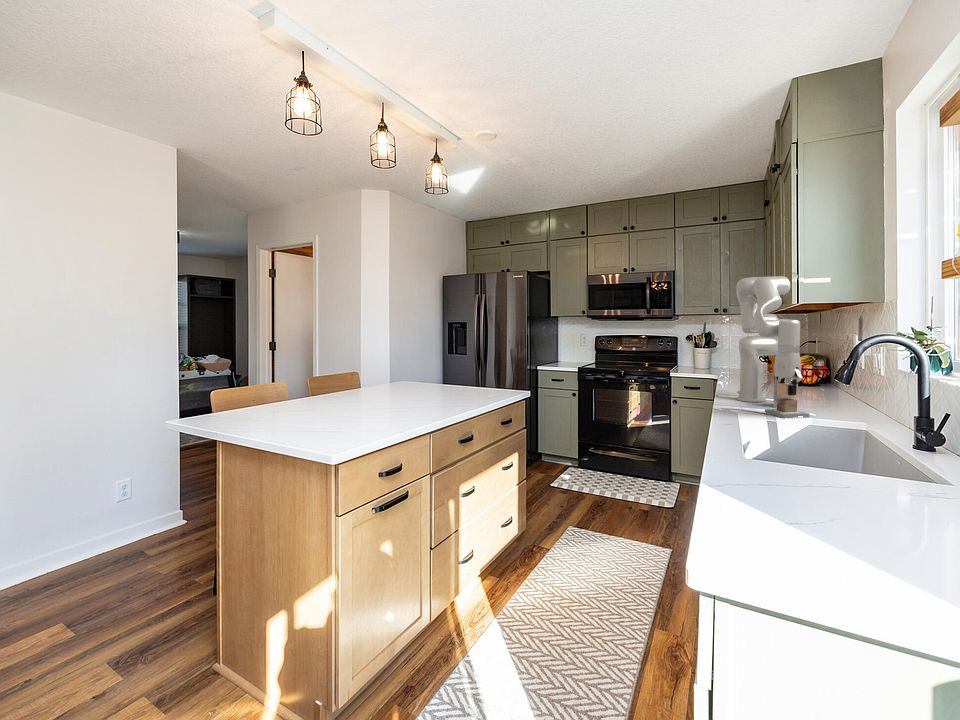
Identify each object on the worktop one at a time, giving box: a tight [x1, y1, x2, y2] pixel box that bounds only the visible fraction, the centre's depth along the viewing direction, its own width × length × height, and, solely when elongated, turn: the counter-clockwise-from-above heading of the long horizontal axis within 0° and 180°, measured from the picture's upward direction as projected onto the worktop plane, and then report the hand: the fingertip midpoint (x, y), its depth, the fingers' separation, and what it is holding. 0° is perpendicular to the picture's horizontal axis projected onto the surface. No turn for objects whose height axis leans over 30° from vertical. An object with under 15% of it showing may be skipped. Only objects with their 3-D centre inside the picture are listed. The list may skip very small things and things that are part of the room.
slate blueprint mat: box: [764, 408, 811, 419], centre depth 190 cm, size 11×11×2 cm
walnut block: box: [776, 398, 798, 413], centre depth 190 cm, size 5×5×5 cm
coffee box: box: [773, 375, 797, 408], centre depth 207 cm, size 9×6×16 cm
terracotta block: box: [777, 383, 799, 398], centre depth 190 cm, size 5×5×5 cm
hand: (787, 393), depth 190 cm, fingers closed on terracotta block, 4 cm apart
